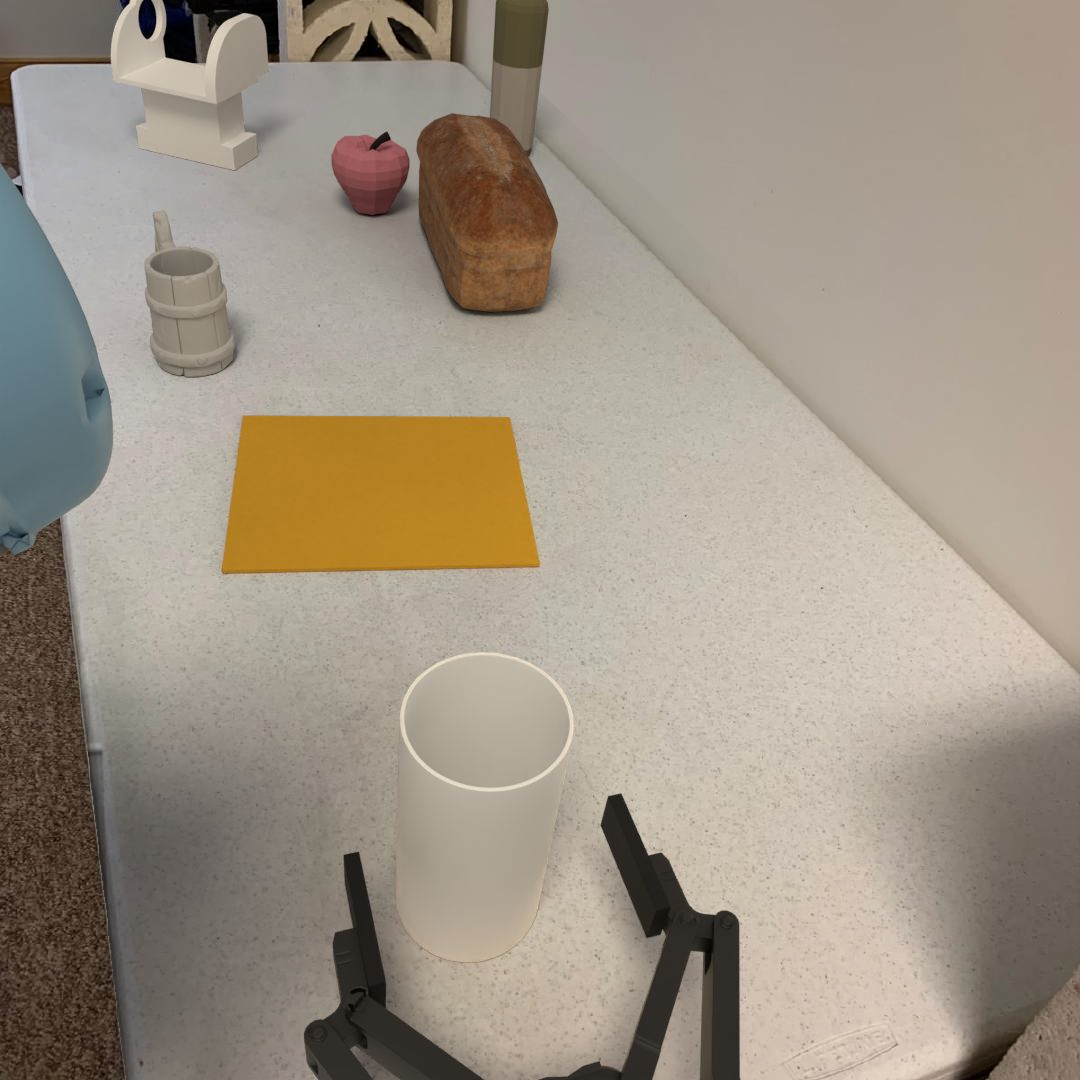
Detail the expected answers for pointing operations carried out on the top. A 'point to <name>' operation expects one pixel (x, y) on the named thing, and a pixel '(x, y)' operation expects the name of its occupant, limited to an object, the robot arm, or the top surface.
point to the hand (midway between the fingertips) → (486, 836)
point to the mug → (186, 307)
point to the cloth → (377, 495)
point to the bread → (485, 213)
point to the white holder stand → (192, 88)
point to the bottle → (518, 65)
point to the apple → (370, 171)
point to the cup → (477, 801)
